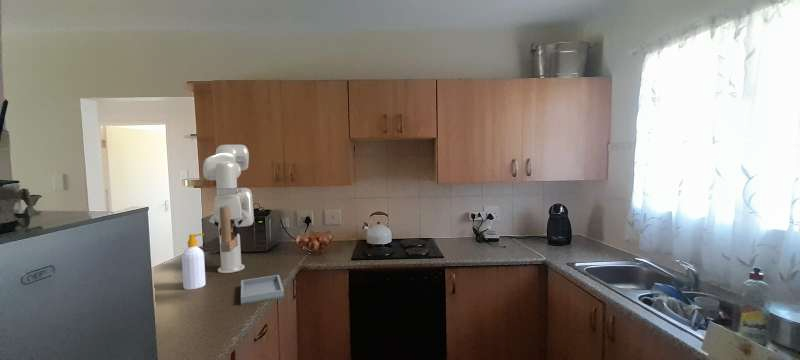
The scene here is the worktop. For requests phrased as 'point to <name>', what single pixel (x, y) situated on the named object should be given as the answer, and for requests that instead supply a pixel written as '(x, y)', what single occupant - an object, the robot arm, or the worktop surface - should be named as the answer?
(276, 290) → the tray
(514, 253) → the worktop surface
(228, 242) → the wooden mallet
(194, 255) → the soap bottle
